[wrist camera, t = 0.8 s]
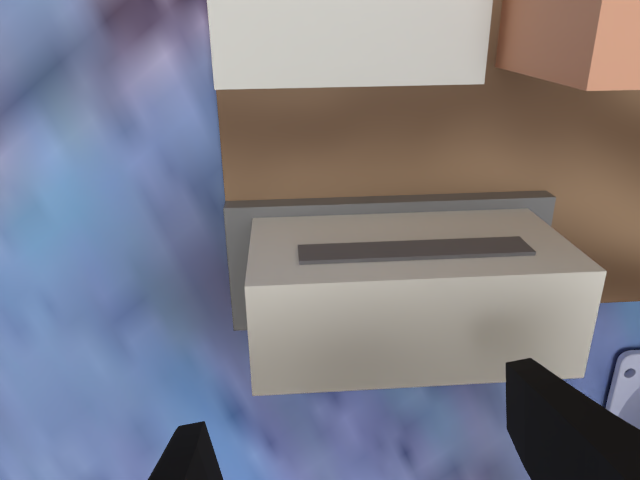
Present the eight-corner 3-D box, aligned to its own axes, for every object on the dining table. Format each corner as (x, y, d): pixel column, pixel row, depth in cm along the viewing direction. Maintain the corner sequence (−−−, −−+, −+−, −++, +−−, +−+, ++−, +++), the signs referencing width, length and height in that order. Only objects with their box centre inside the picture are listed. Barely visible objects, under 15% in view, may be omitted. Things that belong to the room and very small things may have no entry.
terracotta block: (608, 64, 19) (744, 87, 13) (495, 66, 19) (586, 90, 13) (632, -67, 17) (798, -103, 12) (509, -66, 17) (620, -103, 12)
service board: (760, 283, 24) (779, 294, 23) (236, 307, 23) (235, 319, 22) (897, -115, 18) (929, -122, 17) (202, -117, 17) (198, -124, 16)
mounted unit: (527, 306, 22) (609, 402, 17) (235, 319, 22) (220, 424, 16) (546, 190, 21) (644, 256, 15) (225, 200, 20) (205, 274, 14)
